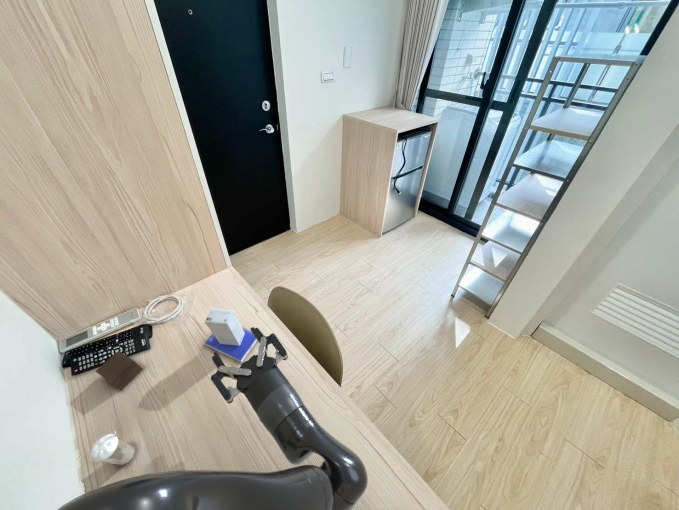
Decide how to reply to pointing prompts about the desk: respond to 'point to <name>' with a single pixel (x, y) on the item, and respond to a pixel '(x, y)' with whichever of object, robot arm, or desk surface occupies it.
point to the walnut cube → (119, 370)
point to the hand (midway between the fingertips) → (234, 341)
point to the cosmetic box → (225, 326)
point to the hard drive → (234, 346)
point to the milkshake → (111, 450)
